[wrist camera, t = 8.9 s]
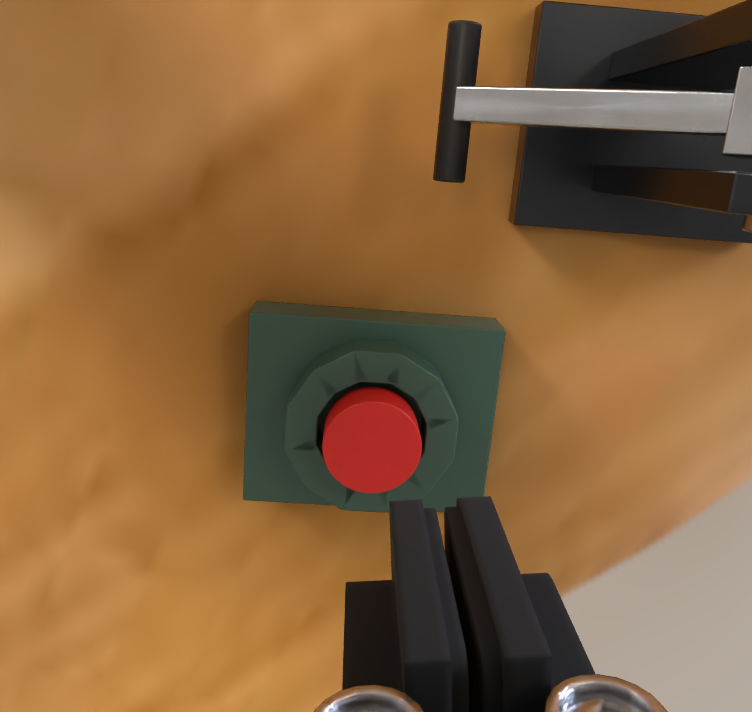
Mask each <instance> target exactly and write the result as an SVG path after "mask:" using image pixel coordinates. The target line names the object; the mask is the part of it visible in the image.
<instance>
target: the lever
mask: <svg viewBox="0 0 752 712" xmlns="http://www.w3.org/2000/svg"><path fill="white" fill-rule="evenodd" d="M481 28H482V26H481V24H479V23H477V22H473V21H464V20H458V21H451V22H449V24H448V33H447V43H446V53H445V63H444V73H443V83H442V94H441V104H440V114H439V124H438V134H437V144H436V154H435V164H434V175H433V179H434V180H435V181H443V182H455V183H463V182H464V181H465V174H466V164H467V155H468V146H469V137H470V128H471V124H491V125H510V126H529V127H549V128H568V129H587V130H607V131H626V132H645V133H665V134H684V135H703V136H723V137H725V140H724V145H723V150H722V154H723V155H725V156H729V157H733V158H736V159H746V160H752V65H743V66H740V68H739V70H738V75H737V80H736V85H735V90H734V91H686V90H638V89H590V88H543V87H495V86H475V83H476V74H477V65H478V56H479V47H480V37H481Z"/></svg>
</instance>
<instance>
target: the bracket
mask: <svg viewBox="0 0 752 712" xmlns="http://www.w3.org/2000/svg"><path fill="white" fill-rule="evenodd" d="M743 65H752V0H746V1H744V2H741V3H739V4H736V5H734V6H731V7H728V8H726V9H723V10H721V11H718V12H716V13H713V14H711V15H708V16H703V15H693V14H682V13H671V12H661V11H650V10H640V9H629V8H618V7H608V6H597V5H587V4H576V3H565V2H555V1H543V2H542V3H540V4H539V5H538V6H537V7H536V10H535V17H534V25H533V33H532V41H531V49H530V56H529V64H528V72H527V80H526V87H543V88H590V89H638V90H686V91H734V90H735V85H736V80H737V75H738V70H739V68H740V66H743ZM724 140H725V137H723V136H703V135H684V134H665V133H645V132H626V131H607V130H587V129H568V128H549V127H529V126H521V127H520V135H519V142H518V150H517V158H516V166H515V174H514V181H513V189H512V197H511V205H510V213H509V222H511V223H513V224H515V225H527V226H539V227H552V228H565V229H577V230H590V231H602V232H615V233H628V234H640V235H653V236H665V237H678V238H690V239H703V240H716V241H728V242H741V243H752V160H746V159H736V158H733V157H729V156H725V155H723V154H722V150H723V145H724Z"/></svg>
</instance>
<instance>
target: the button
mask: <svg viewBox="0 0 752 712" xmlns="http://www.w3.org/2000/svg"><path fill="white" fill-rule="evenodd" d="M322 451H323V457H324V461H325V464H326V466H327V468H328V470H329V471H330V473H331V474H332V475H333V477H334V478H335V479H336V480H337V481H339V482H340V483H341V484H343V485H344V486H346V487H348V488H350V489H352V490H355V491H358V492H362V493H381V492H386V491H389V490H391V489H394V488H396V487H398V486H399V485H401V484H402V483H404V482H405V481H406V480H407V479H408V478H409V477H410V476H411V475H412V474H413V472H414V471H415V469H416V468H417V465H418V463H419V461H420V457H421V452H422V442H421V436H420V431H419V427H418V423H417V419H416V416H415V413H414V411H413V409H412V408H411V406H410V405H409V404H408V402H407V401H406V400H405V399H404V398H402V397H401V396H400V395H398V394H397V393H395V392H393V391H391V390H388V389H385V388H381V387H362V388H358V389H355V390H353V391H350V392H348V393H346V394H345V395H343V396H342V397H341V398H339V399H338V400H337V401H336V402H335V404H334V405H333V406H332V407H331V409H330V411H329V413H328V415H327V417H326V421H325V427H324V435H323V444H322Z"/></svg>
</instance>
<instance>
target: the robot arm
mask: <svg viewBox="0 0 752 712" xmlns="http://www.w3.org/2000/svg"><path fill="white" fill-rule="evenodd" d="M389 512H390V540H391V568H392V580H382V581H360V582H346V590H345V623H344V656H343V688H342V690H341V691H339V692H338V693H336V694H334V695H332V696H330V697H329V698H327V699H325V700H324V701H323V702H322V703H321V704H320V705H319V706H318V707H317V708H316V709H315V710H314V712H667V710H666V709H665V708H664V707H663V706H662V705H661V704H660V703H659V702H658V701H657V700H656V699H655V698H654V697H653V696H652V695H651V694H650V693H648V692H647V691H645V690H644V689H642V688H640V687H639V686H637V685H635V684H633V683H630V682H628V681H625V680H622V679H619V678H617V677H611V676H605V675H599V674H595V672H594V670H593V668H592V666H591V663H590V661H589V659H588V657H587V655H586V652H585V650H584V648H583V646H582V644H581V641H580V639H579V637H578V635H577V633H576V631H575V628H574V626H573V624H572V622H571V620H570V617H569V615H568V613H567V611H566V609H565V606H564V604H563V602H562V600H561V597H560V595H559V593H558V591H557V589H556V586H555V584H554V582H553V580H552V578H551V577H550V575H549V574H547V573H534V574H520V571H519V569H518V566H517V564H516V561H515V558H514V556H513V553H512V551H511V548H510V545H509V543H508V540H507V538H506V535H505V532H504V530H503V527H502V525H501V522H500V519H499V517H498V514H497V512H496V509H495V507H494V504H493V501H492V499H491V497H490V496H489V497H466V498H457V500H456V507H445V511H444V528H445V550H444V546H443V541H442V536H441V532H440V527H439V523H438V518H437V513H436V509H435V508H423V503H422V500H399V501H389Z"/></svg>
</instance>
